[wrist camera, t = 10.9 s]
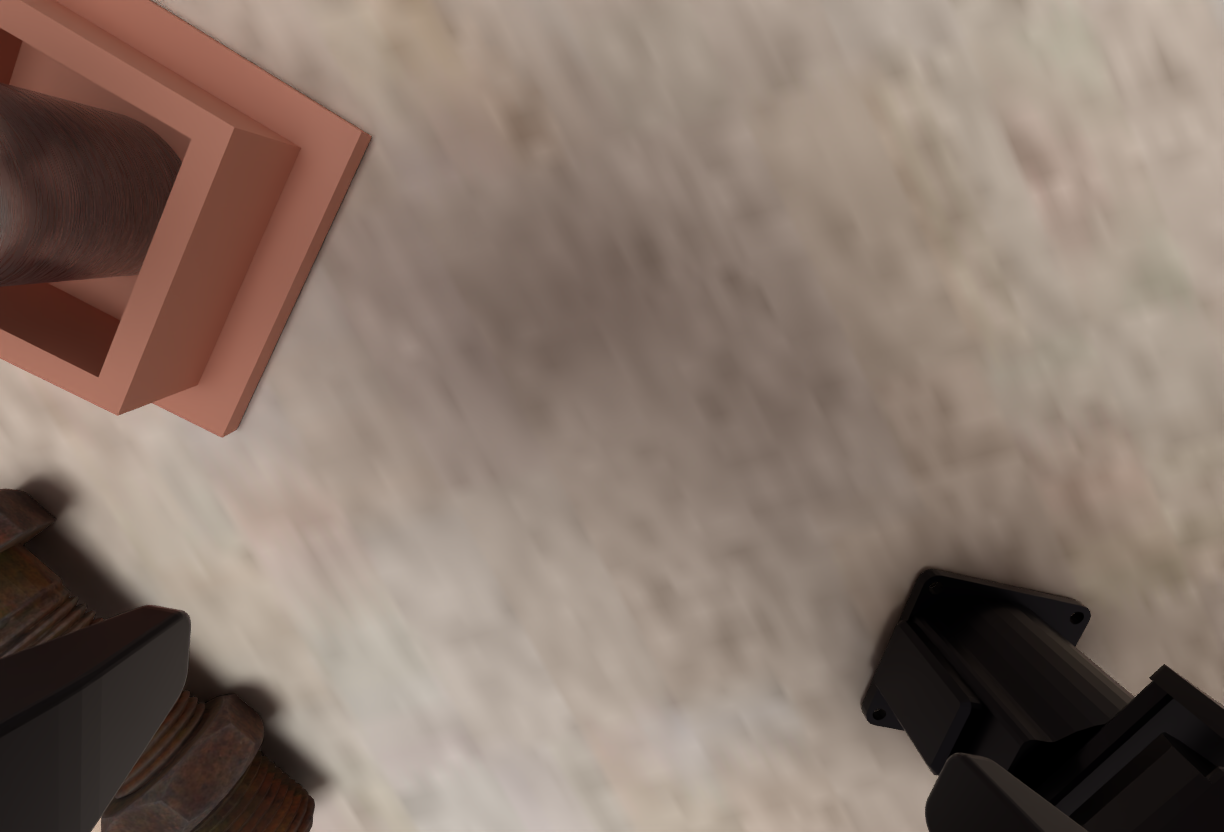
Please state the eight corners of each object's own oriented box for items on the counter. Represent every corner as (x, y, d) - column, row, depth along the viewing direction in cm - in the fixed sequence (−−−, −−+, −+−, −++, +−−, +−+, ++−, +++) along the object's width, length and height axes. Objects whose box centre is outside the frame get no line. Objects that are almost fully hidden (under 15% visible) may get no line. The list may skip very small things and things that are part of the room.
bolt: (311, 765, 25) (7, 503, 21) (373, 766, 23) (34, 462, 18) (188, 929, 21) (-228, 640, 17) (245, 958, 18) (-243, 616, 14)
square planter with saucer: (371, 136, 17) (308, 107, 13) (236, 429, 19) (149, 477, 15) (2, -91, 15) (-194, -200, 11) (-99, 261, 17) (-291, 268, 14)
